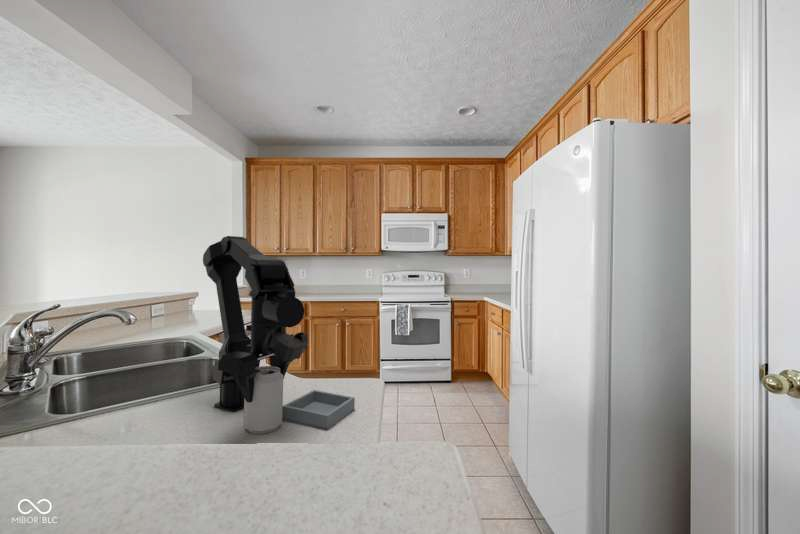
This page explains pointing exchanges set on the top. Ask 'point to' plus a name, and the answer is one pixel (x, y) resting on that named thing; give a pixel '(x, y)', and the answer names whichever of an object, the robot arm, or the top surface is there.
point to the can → (265, 401)
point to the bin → (318, 409)
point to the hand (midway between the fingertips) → (264, 395)
